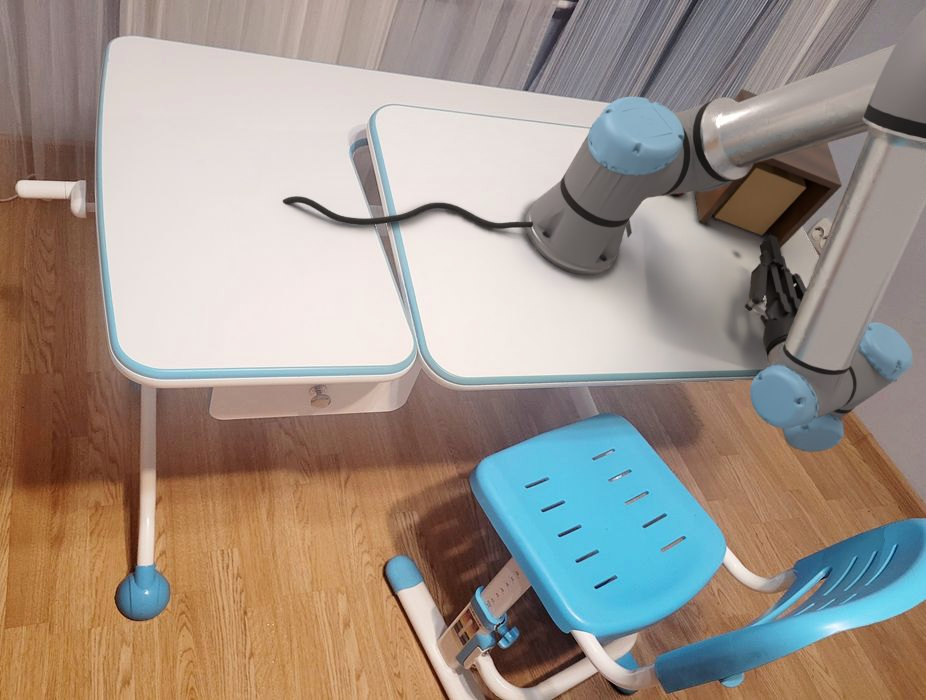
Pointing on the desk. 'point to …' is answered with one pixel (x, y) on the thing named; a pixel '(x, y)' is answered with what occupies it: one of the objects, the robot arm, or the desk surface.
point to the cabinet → (804, 163)
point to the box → (760, 198)
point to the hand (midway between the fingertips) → (768, 241)
